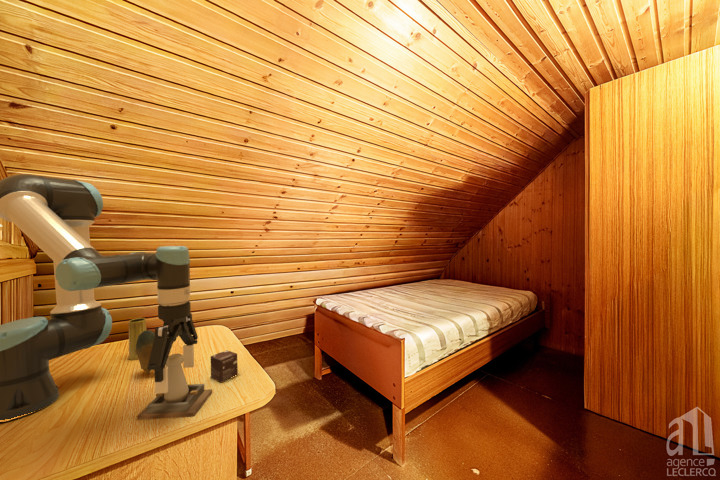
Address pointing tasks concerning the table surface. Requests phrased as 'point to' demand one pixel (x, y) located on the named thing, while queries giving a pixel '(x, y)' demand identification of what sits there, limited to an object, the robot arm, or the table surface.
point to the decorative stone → (144, 348)
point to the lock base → (177, 404)
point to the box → (224, 366)
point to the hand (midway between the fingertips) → (176, 378)
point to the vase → (135, 335)
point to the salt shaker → (176, 380)
